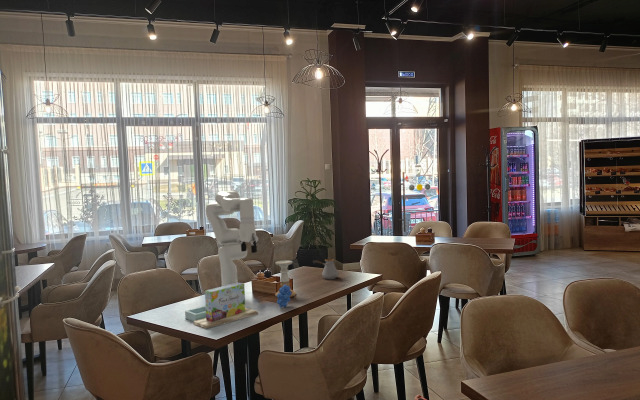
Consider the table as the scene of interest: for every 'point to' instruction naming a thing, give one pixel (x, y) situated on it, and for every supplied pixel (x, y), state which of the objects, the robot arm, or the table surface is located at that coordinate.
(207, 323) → the board
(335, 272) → the coffee pot
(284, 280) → the candle holder
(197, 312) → the bin
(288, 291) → the grapes
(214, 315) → the snack box
